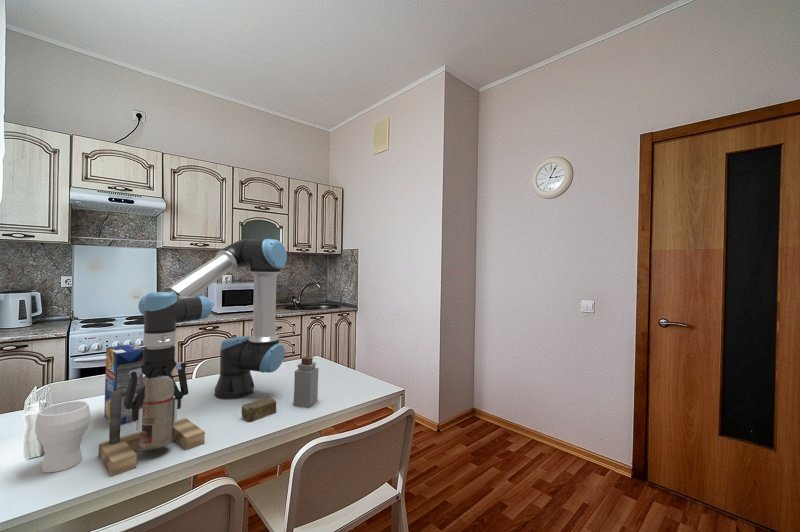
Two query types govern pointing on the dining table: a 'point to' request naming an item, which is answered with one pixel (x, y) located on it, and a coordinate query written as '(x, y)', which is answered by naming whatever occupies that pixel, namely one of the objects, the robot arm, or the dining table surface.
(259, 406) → the stone block
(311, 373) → the perfume bottle
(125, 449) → the wooden stand
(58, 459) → the cup
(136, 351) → the juice carton
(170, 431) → the spray can
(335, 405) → the dining table surface
